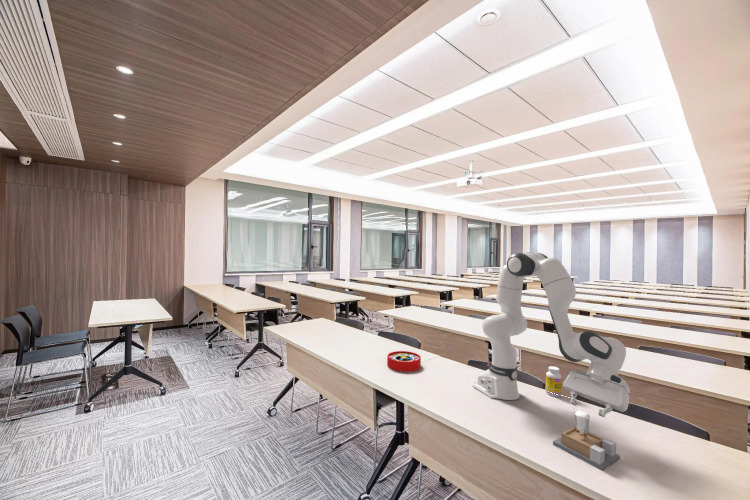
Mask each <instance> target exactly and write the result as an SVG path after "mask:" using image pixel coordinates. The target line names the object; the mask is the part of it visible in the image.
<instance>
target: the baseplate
mask: <svg viewBox="0 0 750 500" xmlns="http://www.w3.org/2000/svg"><path fill="white" fill-rule="evenodd" d="M552 445H553V446H555V447H557V448H558V449H561V450H563V451H565V452H566V453H568V454H570V455H572V456H575V457H576V458H578V459H580V460H582V461H584V462H585V463H587V464H589V465H590V466H592V467H595V468H596V469H598V470H600V471H602V472H603V471H604V470H606V469H608V468H609V467H610V466H613V464H614V463H616V462H617V461H619V460H621V454H618V453H617V442H616V441H614V440H612V439H609V438H607V437H605V438H603V437H600V436H598V435H596V434H593V433H591V432H589V433H588V440H581V439H579V438H578V437H577V431H576V425H575V426H573V427H570V428H569V429H567V430H566V431H563V432H561V434H560V437H559V438H557V439H555V440H553V441H552Z"/></svg>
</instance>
